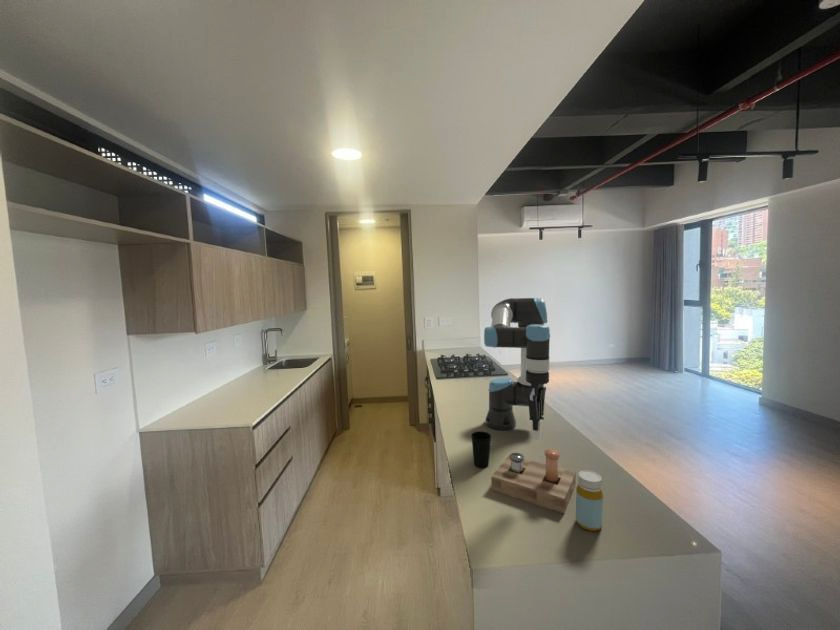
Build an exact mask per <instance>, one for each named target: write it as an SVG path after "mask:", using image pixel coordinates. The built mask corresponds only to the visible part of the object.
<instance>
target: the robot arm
mask: <svg viewBox="0 0 840 630" xmlns="http://www.w3.org/2000/svg"><path fill="white" fill-rule="evenodd" d="M490 316H491V318H490V319H491V326H487V327H485V328H484V333H483V342H484V343H483V344H484V346H485V347H487V348H507V349H509V348H512V349H513V348H516V349H517V348H518V349H520V376H518V377H517V380H516V381H514V380H513V378H511V377H498V378H493V379H492V380H490V382H489V384H488V411H487V413H486V416H485V425H486V426H487V427H488V428H491V429H494V430H497V431H509V430H513V429H515V428H516V427H517V420H516V416H515V413H514V411H513V407H514V406H516V407H528V413H529V414H528V416H529V420H530V421H531V439H533V440H538V441H541V439H542V420H543V421H544V419H545V417H544V411H545V410H544V409H545V399H546V392H547V391H546V390H547V387H546V385H547V384H549V381H550V372H549V370H550V340H551V334H550V330H551V329H550V327H549V326H548V325H546V324H547V323H548V312H547V306H546V301H545V299H543V298H538V297H537V298H536V297H524V298H523V297H521V298H518V297H517V298H512V297H511V298H507V299H503V300H500V301H499V302H498V303H496V304H495V305H494V306H493V307H492V309H491V312H490ZM511 323H513V324H517V326H515V327H513V326H511Z"/></svg>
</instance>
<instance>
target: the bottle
mask: <svg viewBox="0 0 840 630" xmlns="http://www.w3.org/2000/svg"><path fill="white" fill-rule="evenodd" d="M577 478H578V479H577V481H578V484H577V487H576V489H575V490H576V495H575V496H576V499H575V521H576V523H577V525H578V526H579V527H580V528H581V529H584V530H585V529H586V531H588V530H589V532H598V531H599V530H600V529H602V527H603V509H604V506H603V503H604V493H603V490H602V485H603V484H602V483H603V478H602V476H601V475H600V474H599V473H598V472H595V471H592V470H581V471H579V472H578V477H577ZM597 530H598V531H597Z"/></svg>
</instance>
